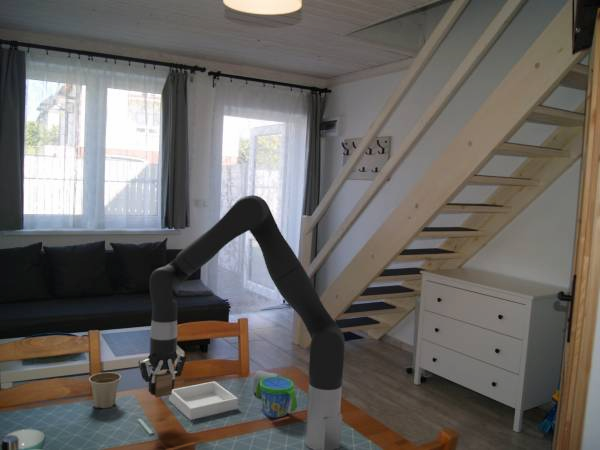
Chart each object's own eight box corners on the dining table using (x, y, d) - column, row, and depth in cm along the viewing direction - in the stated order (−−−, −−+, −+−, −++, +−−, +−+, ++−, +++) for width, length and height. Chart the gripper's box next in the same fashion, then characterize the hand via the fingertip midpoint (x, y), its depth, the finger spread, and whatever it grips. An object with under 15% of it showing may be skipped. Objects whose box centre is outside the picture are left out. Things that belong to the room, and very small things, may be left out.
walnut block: (171, 394, 149) (172, 374, 149) (156, 397, 147) (157, 377, 146) (165, 389, 153) (166, 369, 153) (150, 392, 150) (151, 371, 150)
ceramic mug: (275, 399, 172) (276, 377, 172) (251, 396, 174) (253, 374, 173) (282, 388, 183) (283, 367, 182) (260, 385, 184) (261, 364, 184)
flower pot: (81, 405, 159) (82, 378, 159) (105, 395, 168) (106, 370, 167) (102, 413, 155) (103, 385, 154) (126, 402, 163) (127, 376, 163)
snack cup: (304, 418, 159) (306, 386, 159) (278, 428, 152) (280, 394, 151) (271, 401, 171) (273, 371, 170) (246, 409, 163) (248, 378, 163)
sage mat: (183, 426, 149) (183, 425, 149) (149, 435, 144) (149, 433, 143) (169, 413, 157) (169, 412, 157) (137, 421, 152) (137, 419, 151)
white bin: (237, 410, 162) (237, 398, 162) (190, 421, 153) (190, 408, 153) (213, 392, 175) (214, 381, 175) (169, 402, 166) (169, 390, 165)
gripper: (144, 341, 141) (141, 402, 143) (192, 335, 150) (189, 392, 151) (134, 334, 147) (132, 392, 149) (181, 328, 156) (179, 383, 157)
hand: (161, 392), depth 150 cm, fingers closed on walnut block, 4 cm apart
